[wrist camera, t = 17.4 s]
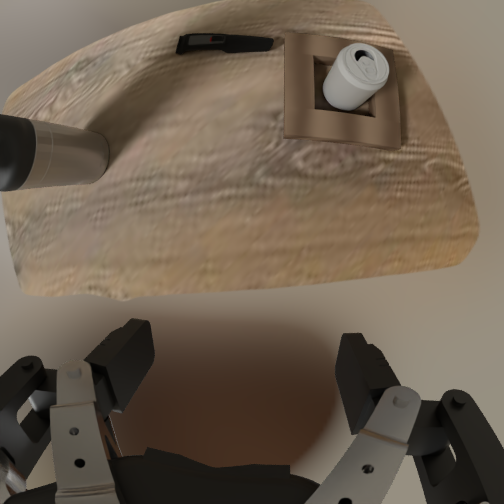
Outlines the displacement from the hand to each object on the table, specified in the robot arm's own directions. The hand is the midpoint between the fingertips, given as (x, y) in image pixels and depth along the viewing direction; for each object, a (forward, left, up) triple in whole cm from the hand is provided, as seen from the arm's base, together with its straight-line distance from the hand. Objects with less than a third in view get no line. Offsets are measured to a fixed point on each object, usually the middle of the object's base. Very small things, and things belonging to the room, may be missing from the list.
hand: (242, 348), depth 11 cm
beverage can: (+11, +22, -30) cm, 39 cm away
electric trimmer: (-7, +30, -31) cm, 43 cm away
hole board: (+11, +22, -30) cm, 39 cm away
